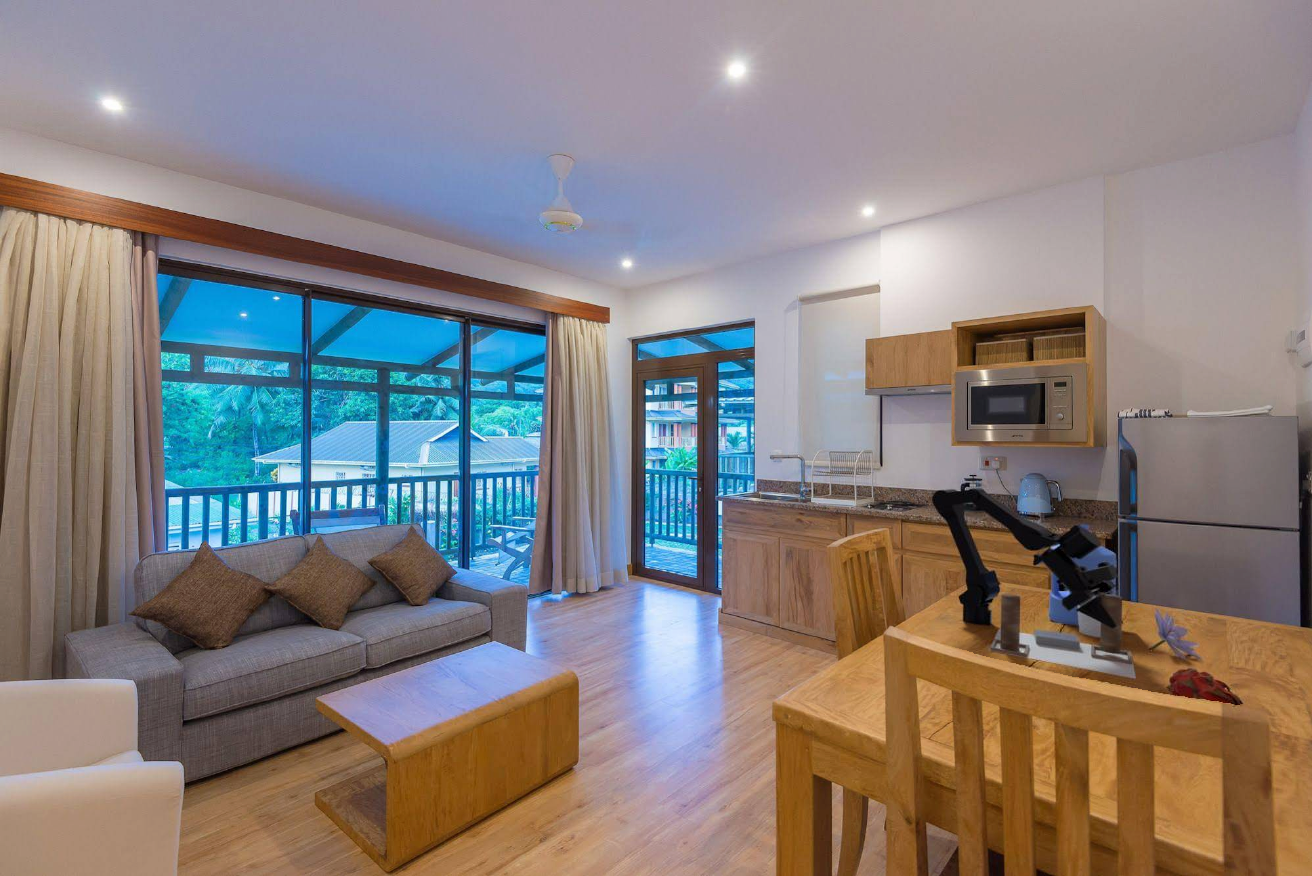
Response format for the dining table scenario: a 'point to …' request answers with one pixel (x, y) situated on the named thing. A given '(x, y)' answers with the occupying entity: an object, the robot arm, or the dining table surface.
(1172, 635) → the water lily
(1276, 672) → the dining table surface
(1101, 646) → the pin
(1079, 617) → the white cup
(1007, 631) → the pin
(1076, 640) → the cover
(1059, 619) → the water jug
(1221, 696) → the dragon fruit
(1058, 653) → the board
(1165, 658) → the dining table surface
